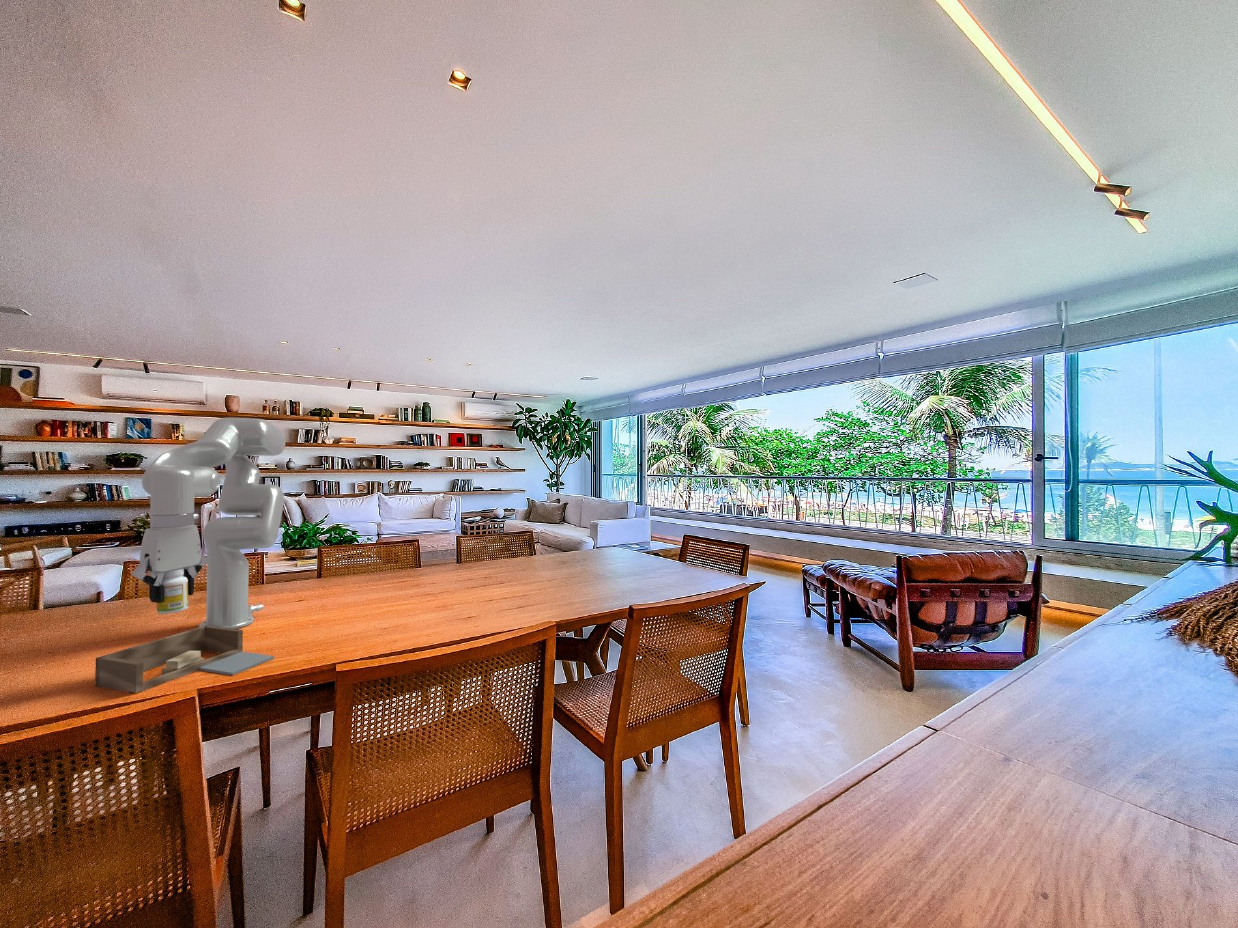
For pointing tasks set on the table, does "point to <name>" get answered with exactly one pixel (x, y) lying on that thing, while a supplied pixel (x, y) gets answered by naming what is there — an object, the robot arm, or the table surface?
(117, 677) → the frame
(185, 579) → the supplement bottle
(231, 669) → the mat
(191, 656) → the offcut upper
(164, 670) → the offcut lower
